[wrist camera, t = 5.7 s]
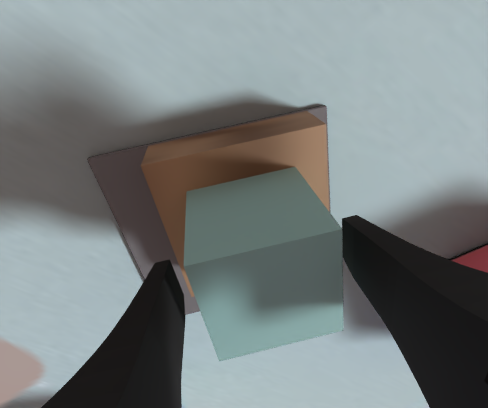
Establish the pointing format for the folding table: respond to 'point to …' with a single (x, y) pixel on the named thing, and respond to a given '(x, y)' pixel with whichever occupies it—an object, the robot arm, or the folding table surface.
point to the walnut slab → (233, 164)
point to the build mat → (150, 204)
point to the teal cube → (263, 262)
